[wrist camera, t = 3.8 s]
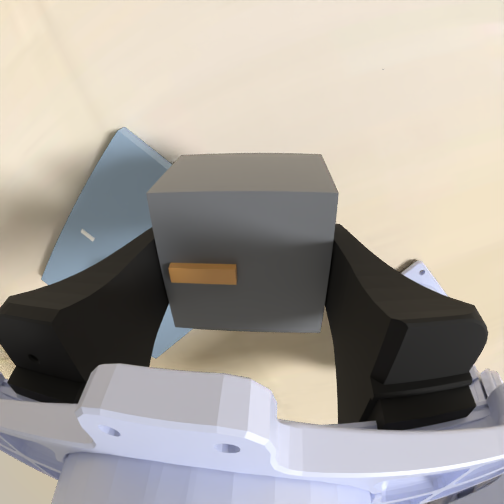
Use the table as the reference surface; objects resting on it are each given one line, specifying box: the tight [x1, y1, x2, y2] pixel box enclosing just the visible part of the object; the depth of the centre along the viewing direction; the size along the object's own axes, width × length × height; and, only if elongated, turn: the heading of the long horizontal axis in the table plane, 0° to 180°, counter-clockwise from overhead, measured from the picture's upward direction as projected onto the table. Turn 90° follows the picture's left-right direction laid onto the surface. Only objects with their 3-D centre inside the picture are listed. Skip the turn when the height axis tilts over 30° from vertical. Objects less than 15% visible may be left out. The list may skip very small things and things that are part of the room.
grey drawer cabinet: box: [146, 153, 338, 333], centre depth 12 cm, size 6×6×4 cm
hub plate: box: [41, 127, 192, 359], centre depth 22 cm, size 13×16×4 cm
